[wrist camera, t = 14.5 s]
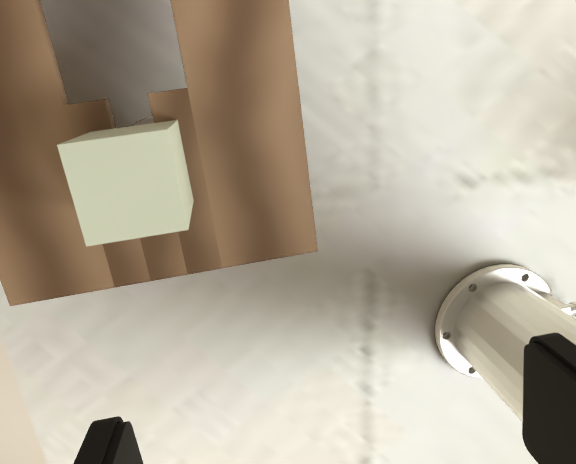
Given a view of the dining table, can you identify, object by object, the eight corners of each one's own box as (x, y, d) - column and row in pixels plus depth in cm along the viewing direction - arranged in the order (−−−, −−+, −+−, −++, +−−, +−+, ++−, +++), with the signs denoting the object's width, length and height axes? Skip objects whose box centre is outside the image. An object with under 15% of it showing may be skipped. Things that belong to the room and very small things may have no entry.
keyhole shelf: (255, -76, 33) (272, -140, 24) (293, 212, 40) (317, 251, 31) (-34, -47, 31) (-142, -103, 22) (60, 251, 38) (10, 306, 29)
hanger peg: (184, 112, 33) (167, 129, 21) (197, 179, 35) (188, 230, 23) (115, 122, 33) (56, 144, 21) (131, 188, 35) (86, 246, 22)
